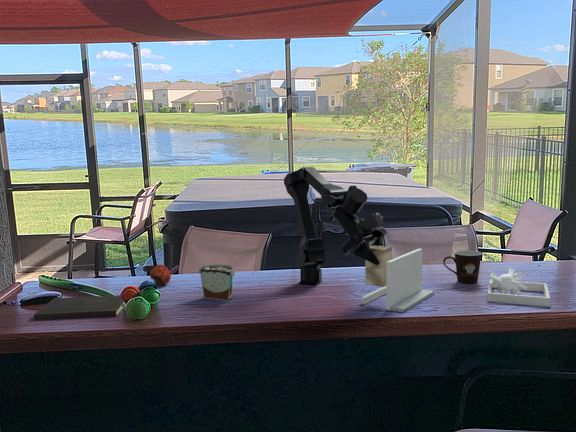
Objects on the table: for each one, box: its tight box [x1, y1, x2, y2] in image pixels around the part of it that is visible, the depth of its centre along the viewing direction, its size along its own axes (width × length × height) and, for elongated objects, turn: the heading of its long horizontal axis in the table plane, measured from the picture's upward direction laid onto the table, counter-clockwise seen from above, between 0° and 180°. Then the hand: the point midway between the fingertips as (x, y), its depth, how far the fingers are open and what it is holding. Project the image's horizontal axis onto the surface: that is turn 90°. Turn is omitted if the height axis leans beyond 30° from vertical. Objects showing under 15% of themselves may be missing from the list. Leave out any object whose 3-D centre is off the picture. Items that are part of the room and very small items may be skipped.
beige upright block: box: [364, 245, 393, 288], centre depth 155 cm, size 6×5×11 cm
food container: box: [198, 264, 236, 302], centre depth 167 cm, size 12×6×10 cm, turn 65°
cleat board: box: [360, 248, 435, 313], centre depth 160 cm, size 14×22×14 cm, turn 142°
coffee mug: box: [442, 249, 482, 285], centre depth 178 cm, size 12×9×10 cm
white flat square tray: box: [487, 279, 551, 308], centre depth 160 cm, size 17×17×2 cm
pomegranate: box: [149, 264, 172, 286], centre depth 184 cm, size 7×7×10 cm
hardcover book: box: [33, 294, 124, 321], centre depth 158 cm, size 16×23×2 cm
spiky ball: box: [486, 267, 529, 295], centre depth 163 cm, size 11×12×8 cm
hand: (382, 262), depth 154 cm, fingers closed on beige upright block, 5 cm apart
